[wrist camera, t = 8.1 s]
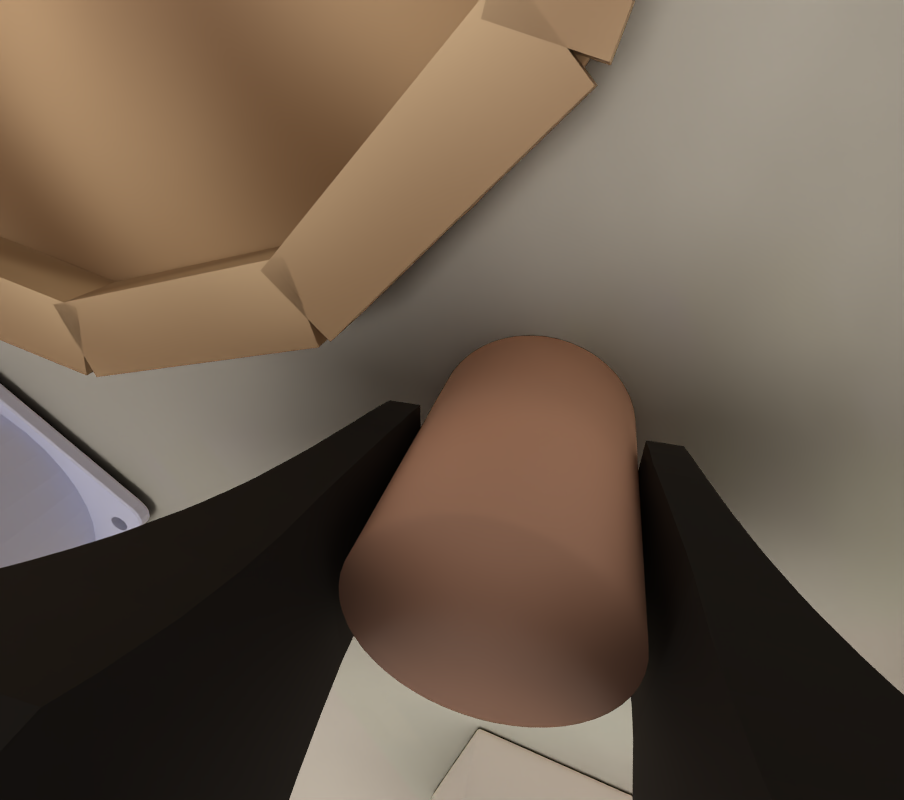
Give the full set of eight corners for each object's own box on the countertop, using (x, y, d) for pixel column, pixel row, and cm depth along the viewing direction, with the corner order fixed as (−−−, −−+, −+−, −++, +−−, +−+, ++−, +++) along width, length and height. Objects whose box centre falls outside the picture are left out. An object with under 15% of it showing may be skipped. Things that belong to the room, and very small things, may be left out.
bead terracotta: (521, 525, 12) (474, 747, 8) (403, 405, 12) (284, 584, 7) (678, 447, 10) (719, 691, 6) (548, 293, 9) (495, 456, 5)
